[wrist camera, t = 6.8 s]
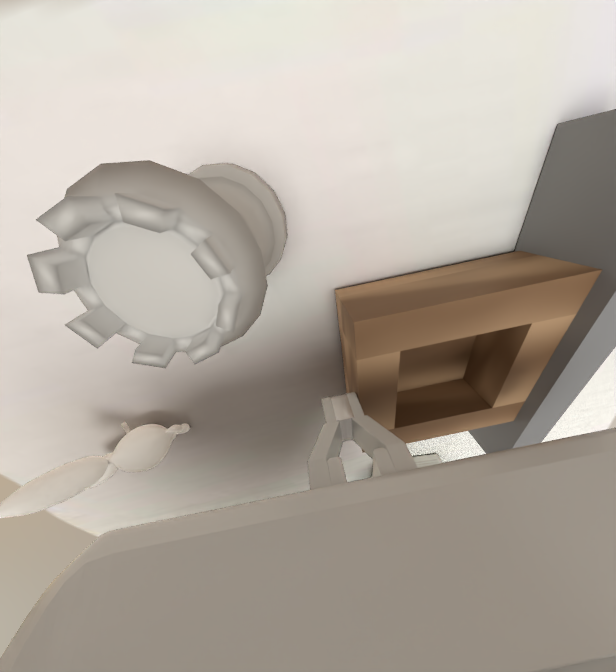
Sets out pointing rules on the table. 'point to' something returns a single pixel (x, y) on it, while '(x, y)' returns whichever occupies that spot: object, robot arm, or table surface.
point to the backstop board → (576, 247)
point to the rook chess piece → (164, 255)
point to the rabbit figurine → (93, 469)
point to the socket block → (456, 340)
